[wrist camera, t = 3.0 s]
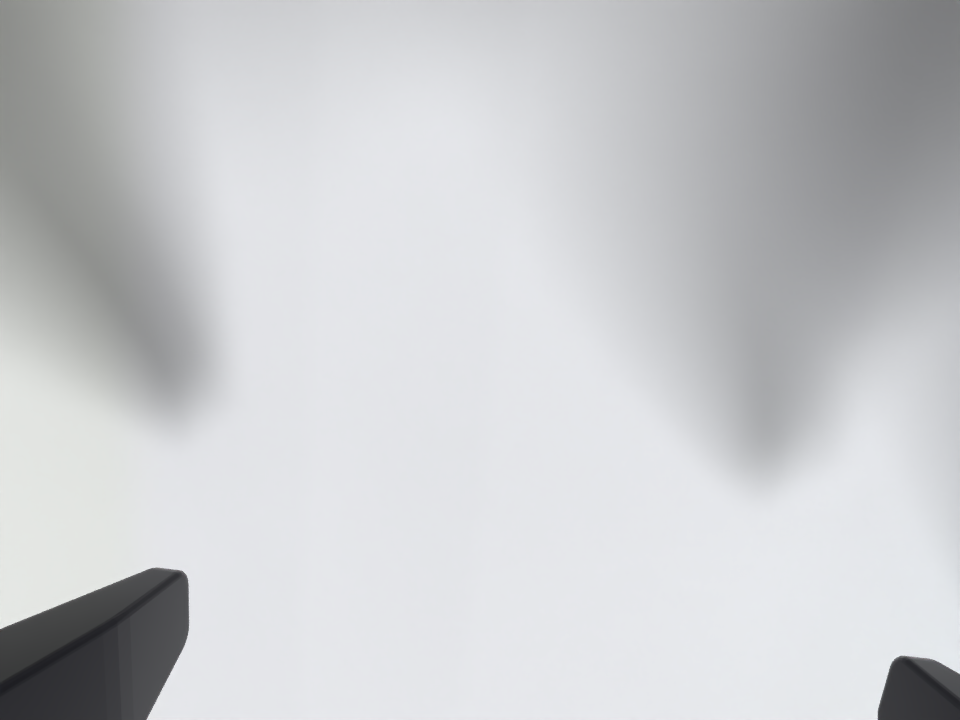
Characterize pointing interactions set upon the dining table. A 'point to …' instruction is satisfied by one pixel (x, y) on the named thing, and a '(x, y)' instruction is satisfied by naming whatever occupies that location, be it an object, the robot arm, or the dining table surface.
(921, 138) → the dining table surface
